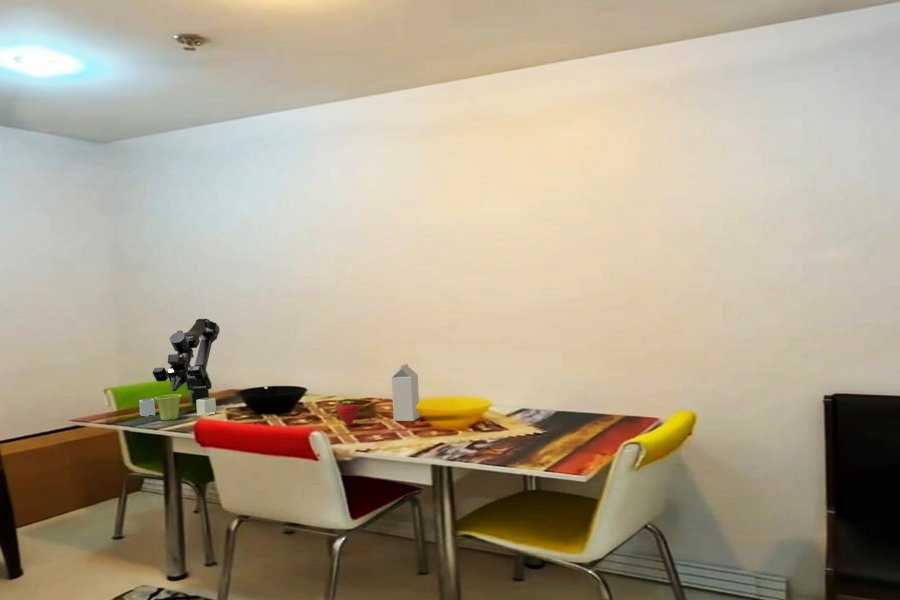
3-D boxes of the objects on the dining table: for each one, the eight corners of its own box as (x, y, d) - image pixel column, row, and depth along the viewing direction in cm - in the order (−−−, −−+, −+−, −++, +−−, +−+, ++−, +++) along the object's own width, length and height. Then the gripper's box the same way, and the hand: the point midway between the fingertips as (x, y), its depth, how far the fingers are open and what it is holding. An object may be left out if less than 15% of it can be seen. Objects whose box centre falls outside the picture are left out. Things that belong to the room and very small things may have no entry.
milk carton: (419, 417, 237) (417, 363, 237) (413, 421, 230) (410, 365, 230) (400, 417, 239) (398, 363, 238) (393, 421, 232) (390, 365, 232)
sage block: (208, 413, 266) (207, 397, 266) (216, 414, 263) (215, 397, 263) (197, 415, 262) (196, 399, 261) (204, 416, 259) (204, 400, 259)
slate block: (153, 413, 271) (152, 397, 271) (155, 415, 266) (154, 399, 266) (140, 415, 268) (139, 399, 268) (141, 417, 264) (140, 400, 264)
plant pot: (150, 421, 253) (149, 398, 253) (166, 416, 262) (165, 394, 262) (172, 421, 250) (171, 398, 250) (187, 416, 260) (186, 394, 259)
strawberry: (352, 428, 223) (351, 398, 223) (334, 427, 227) (332, 397, 226) (363, 424, 229) (361, 395, 228) (344, 423, 232) (343, 394, 232)
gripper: (153, 347, 267) (142, 379, 256) (200, 345, 267) (192, 376, 256) (162, 365, 275) (152, 396, 264) (208, 363, 275) (200, 394, 264)
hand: (173, 390), depth 262 cm, fingers closed
